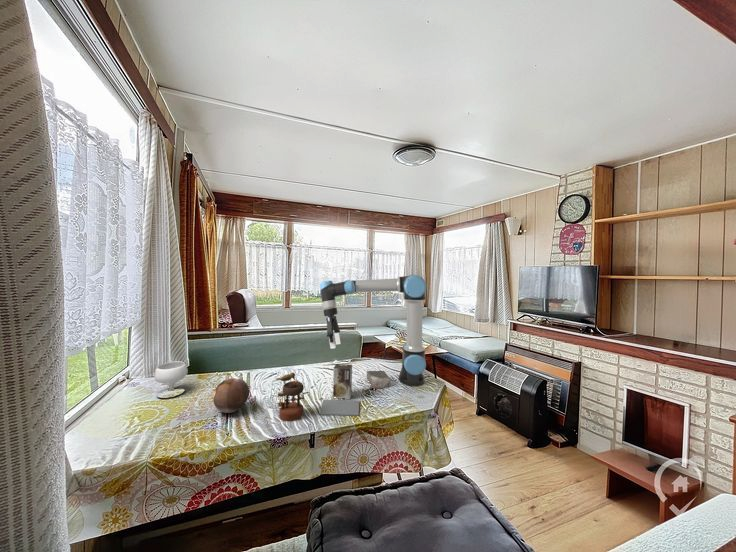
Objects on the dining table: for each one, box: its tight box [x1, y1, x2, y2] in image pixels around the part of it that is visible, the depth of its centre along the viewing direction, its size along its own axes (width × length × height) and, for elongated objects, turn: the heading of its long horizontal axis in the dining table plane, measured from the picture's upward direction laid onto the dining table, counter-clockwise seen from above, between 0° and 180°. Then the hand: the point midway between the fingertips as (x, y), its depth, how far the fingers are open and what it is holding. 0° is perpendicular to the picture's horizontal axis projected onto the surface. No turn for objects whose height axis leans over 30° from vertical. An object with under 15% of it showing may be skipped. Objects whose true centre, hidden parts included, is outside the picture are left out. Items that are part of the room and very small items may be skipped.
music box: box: [275, 372, 310, 422], centre depth 126 cm, size 15×11×20 cm
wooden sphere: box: [212, 377, 250, 414], centre depth 128 cm, size 15×15×15 cm
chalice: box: [153, 360, 189, 391], centre depth 142 cm, size 14×14×15 cm
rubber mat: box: [318, 399, 360, 417], centre depth 133 cm, size 18×14×1 cm
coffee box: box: [332, 363, 353, 400], centre depth 145 cm, size 9×6×16 cm
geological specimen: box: [366, 370, 391, 390], centre depth 163 cm, size 11×6×15 cm
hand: (335, 346), depth 154 cm, fingers open, 13 cm apart
